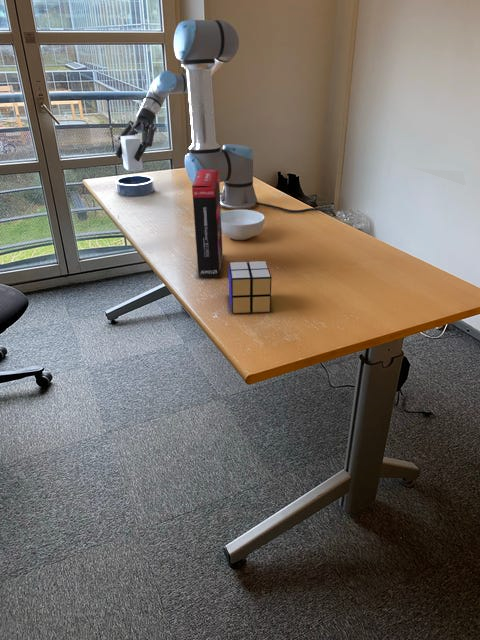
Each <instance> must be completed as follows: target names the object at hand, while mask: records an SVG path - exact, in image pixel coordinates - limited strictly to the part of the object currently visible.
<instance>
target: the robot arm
mask: <svg viewBox="0 0 480 640" xmlns="http://www.w3.org/2000/svg"><path fill="white" fill-rule="evenodd" d="M239 48H240V38H239V35H238V32H237V30H236V29H235V28H234V26H233V25H232V24H231V23H229V22H227V21H225V20H222V19H215V20H213V19H212V20H211V19H189V20H188V19H187V20H182V21H180V22H179V23H178V24H177V26H176V28H175V32H174V35H173V52H174V55H175V57H176V59H177V60H178V61H181V67H182V68H183V69H184V70H185V71H186V72H184V73H183V72H182V73H174V72H172V71H170V70H168V69H167V70H163V71H161V72H160V73H159V74H158V75H157V76H156V77H155V78H154V79H153V80H152V82H151V84H150V87H149V89H148V91H147V94H146V95H145V98H144V99H143V102H142V103H141V106H140V108H139V110H138V112H137V114H136V120H134V121H132V120H129V121H128V123H127V125H126V126H125V128H124V129H123V130H122V132H121V133H120V134H119V136H118V137H117V140H118V141H119V144H118V146H117V150H116V152H115V156H116V157H117V158H118V159H121V158H122V157H123V155H122V146H121V136H130V135H135V136H136V135H138V134H139V133H140V134H141V141H140V146H139V148H138V150H137V152H136V154H135V156H134V158H135V159H136V160H137V161H139V160H140V158H141V156H143V155H144V154H145V152H146V150H147V148H151V147H152V146H153V142H154V136H155V132H156V130H157V129H158V128H157V126H156V125H155V122H156V120H157V117H158V115H159V113H160V111H161V109H162V107H163V104H164V102H165V100H166V99H167V97H168V96H169V95H176V94H178V95H179V94H188V103H189V115H190V116H189V117H190V125H191V126H190V127H191V140H192V143H191V145H190V146H189V147H188V151H189V153H187V154H185V156H184V168H185V172H186V174H187V177H188V179H189V180H190V181H191V183H193V182H194V179H195V176H196V173H197V172H198V170H217V171H219V183H223V187H222V190H221V192H220V207H221V208H222V209H225V210H228V211H229V210H252V209H254V208H256V207H257V206H262V207H265V208H266V207H267V208H271V209H276V210H280V211H283V212H285V213H304V212H310V211H311V212H313V211H315V212H317V211H318V212H329V214H331V215H332V216H333V217H334V218H337V217H338V216H337V214H336V213H335V212H334V211H333V210H332V209H330V208H326V207H323V208H321V207H309V208H304V209H303V208H302V209H288V208H285V207H281V206H276V205H272V204H269V203H263V202H258V198H257V195H256V191H255V187H254V160H255V159H254V151H253V149H252V148H251V147H250V146H247V145H241V144H233V143H227V144H223V145H222V149H221V145H220V144H218V142H217V140H216V139H217V138H216V137H217V136H216V124H215V109H214V107H215V106H214V95H213V93H214V92H213V91H214V90H213V78H212V77H213V75H214V74H215V73H216V72H217V71H218V70H219V69H220V68H221V67H222V66H223V65H224V64H226V63H229V62H230V61H232V59H234V57H235V56H236V55H237V53H238V51H239Z"/></svg>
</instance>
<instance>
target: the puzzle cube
mask: <svg viewBox="0 0 480 640" xmlns="http://www.w3.org/2000/svg"><path fill="white" fill-rule="evenodd" d="M272 281H273V280H272V275H271V272H270V268H269V265H268V262H267V261H266V260H265V261H263V260H262V261H261V260H260V261H259V260H258V261H248V262H247V261H235V262H234V261H233V262H229V263H228V297H229V303H230V310H231V314H233V315H234V314H250V313H252V314H254V313H256V314H257V313H270V312H271V311H272V295H271V294H272Z"/></svg>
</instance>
